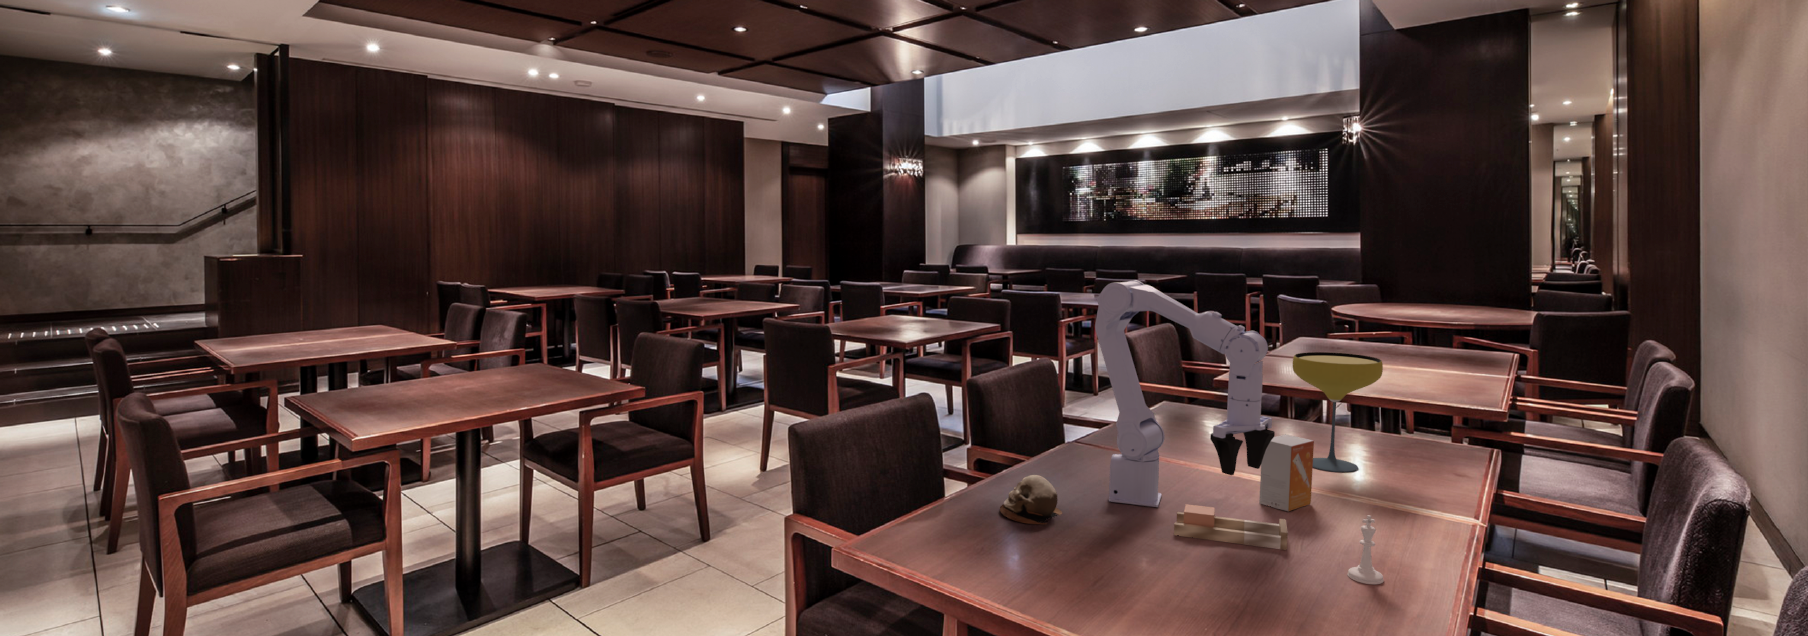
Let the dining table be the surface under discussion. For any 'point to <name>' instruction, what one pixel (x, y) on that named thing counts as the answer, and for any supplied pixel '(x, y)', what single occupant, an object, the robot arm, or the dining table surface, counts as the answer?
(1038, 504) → the skull
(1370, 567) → the chess piece
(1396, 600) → the dining table surface
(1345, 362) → the cocktail glass
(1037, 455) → the dining table surface
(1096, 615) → the dining table surface
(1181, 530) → the chute
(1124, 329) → the robot arm
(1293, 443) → the small box
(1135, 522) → the dining table surface
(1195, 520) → the block
